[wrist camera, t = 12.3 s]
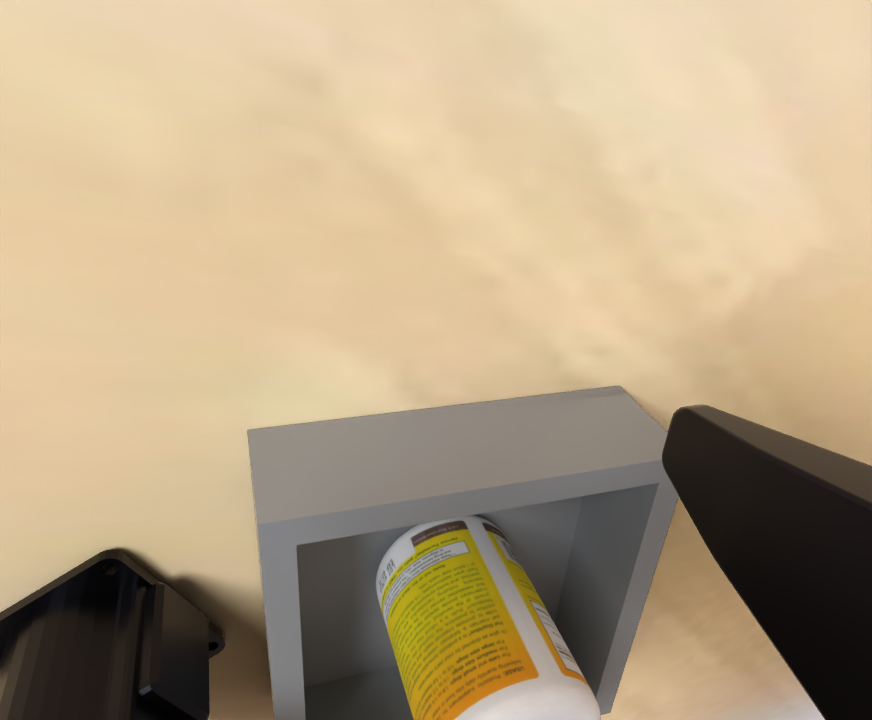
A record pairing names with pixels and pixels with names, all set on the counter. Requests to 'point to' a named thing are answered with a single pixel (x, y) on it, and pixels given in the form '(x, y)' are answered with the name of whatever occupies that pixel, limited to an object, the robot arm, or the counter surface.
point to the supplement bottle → (475, 629)
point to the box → (445, 499)
